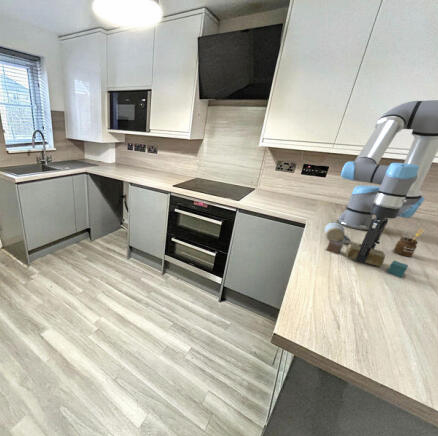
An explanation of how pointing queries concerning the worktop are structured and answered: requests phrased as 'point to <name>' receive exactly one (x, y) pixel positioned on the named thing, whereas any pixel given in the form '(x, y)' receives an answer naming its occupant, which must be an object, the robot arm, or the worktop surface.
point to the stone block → (372, 258)
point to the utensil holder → (407, 245)
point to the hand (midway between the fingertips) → (362, 259)
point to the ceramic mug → (336, 232)
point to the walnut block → (334, 246)
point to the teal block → (397, 268)
